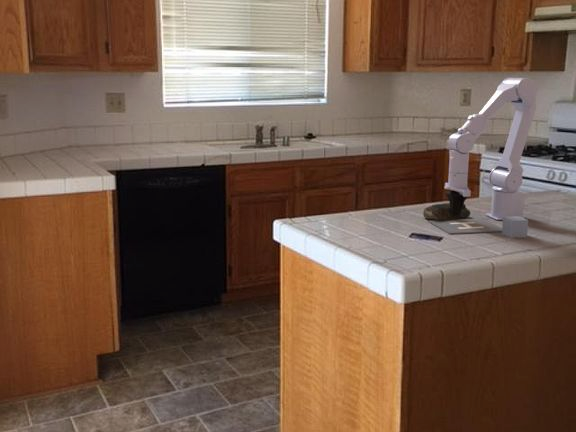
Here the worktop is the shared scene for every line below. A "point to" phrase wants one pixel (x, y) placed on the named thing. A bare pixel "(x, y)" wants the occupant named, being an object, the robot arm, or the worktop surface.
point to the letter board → (466, 226)
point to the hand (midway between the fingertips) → (455, 215)
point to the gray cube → (515, 227)
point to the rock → (444, 212)
